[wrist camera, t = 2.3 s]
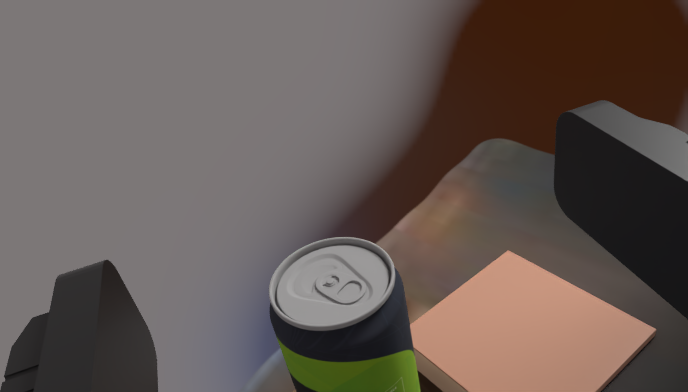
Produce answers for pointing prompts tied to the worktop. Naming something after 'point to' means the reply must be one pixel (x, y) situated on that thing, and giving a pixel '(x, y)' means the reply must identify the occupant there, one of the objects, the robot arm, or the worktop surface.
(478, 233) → the worktop surface
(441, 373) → the wooden tray
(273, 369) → the worktop surface
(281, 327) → the beverage can
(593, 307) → the trivet
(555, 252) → the worktop surface
